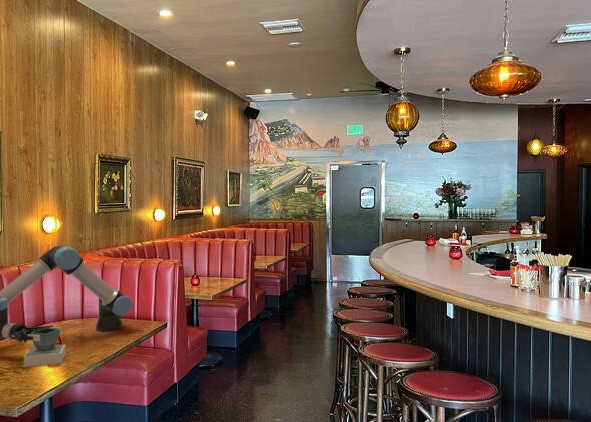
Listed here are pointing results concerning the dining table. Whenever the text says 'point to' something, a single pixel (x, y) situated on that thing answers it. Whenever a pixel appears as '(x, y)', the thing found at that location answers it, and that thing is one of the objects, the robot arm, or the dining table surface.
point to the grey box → (44, 356)
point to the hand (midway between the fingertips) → (50, 334)
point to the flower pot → (46, 338)
